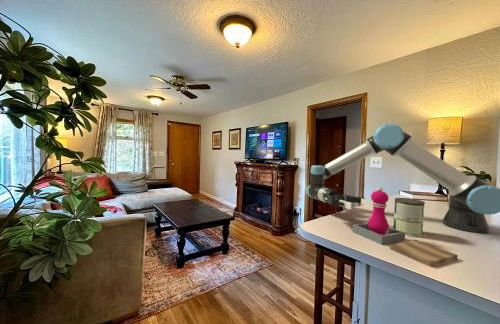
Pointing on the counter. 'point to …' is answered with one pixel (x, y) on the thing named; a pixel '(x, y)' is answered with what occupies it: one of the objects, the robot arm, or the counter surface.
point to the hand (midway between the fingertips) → (363, 205)
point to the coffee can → (409, 216)
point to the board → (424, 252)
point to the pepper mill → (378, 213)
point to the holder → (390, 237)
